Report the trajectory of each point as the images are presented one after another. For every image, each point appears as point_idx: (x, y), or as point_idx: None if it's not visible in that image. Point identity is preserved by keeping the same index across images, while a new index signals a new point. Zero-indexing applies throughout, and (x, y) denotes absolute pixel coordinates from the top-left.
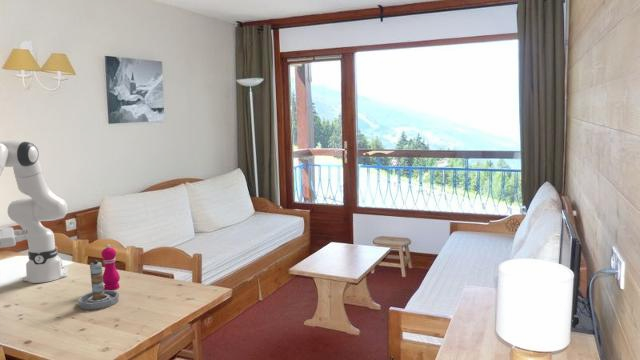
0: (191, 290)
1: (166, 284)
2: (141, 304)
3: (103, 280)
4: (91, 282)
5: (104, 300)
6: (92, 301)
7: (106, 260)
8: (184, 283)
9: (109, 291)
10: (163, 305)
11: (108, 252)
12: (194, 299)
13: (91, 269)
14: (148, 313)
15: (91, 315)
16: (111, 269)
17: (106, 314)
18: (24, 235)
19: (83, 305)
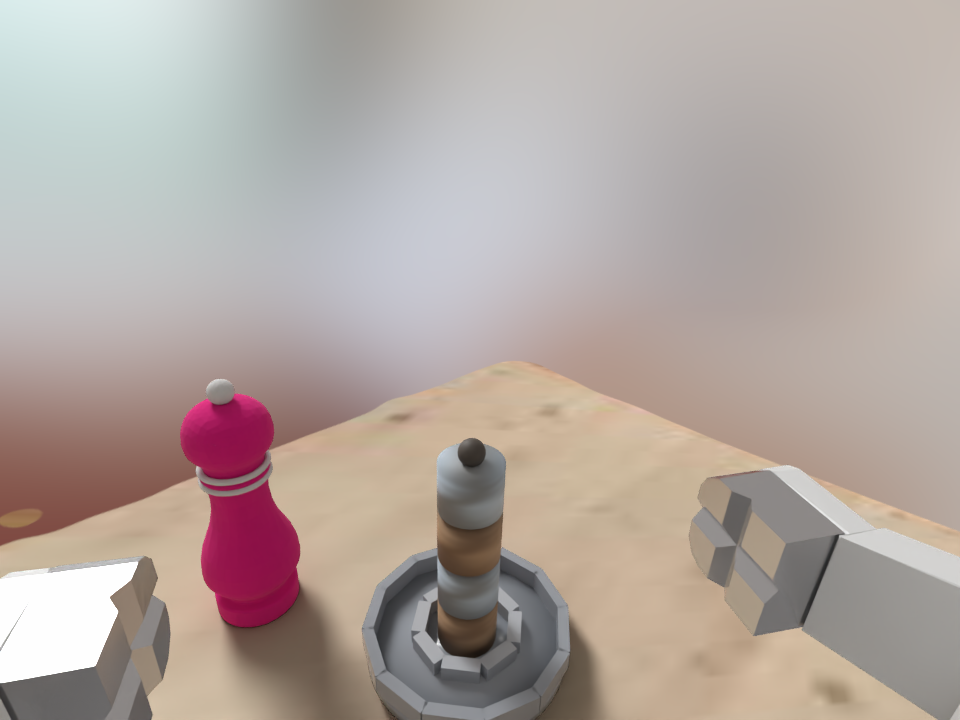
0: (476, 403)
1: (369, 441)
2: (558, 503)
3: (263, 583)
4: (473, 575)
5: (510, 600)
6: (515, 648)
7: (259, 469)
8: (394, 409)
9: (399, 578)
10: (589, 457)
11: (265, 417)
12: (560, 405)
13: (495, 500)
14: (657, 489)
15: (648, 666)
16: (273, 502)
17: (645, 606)
18: (852, 522)
19: (547, 695)
